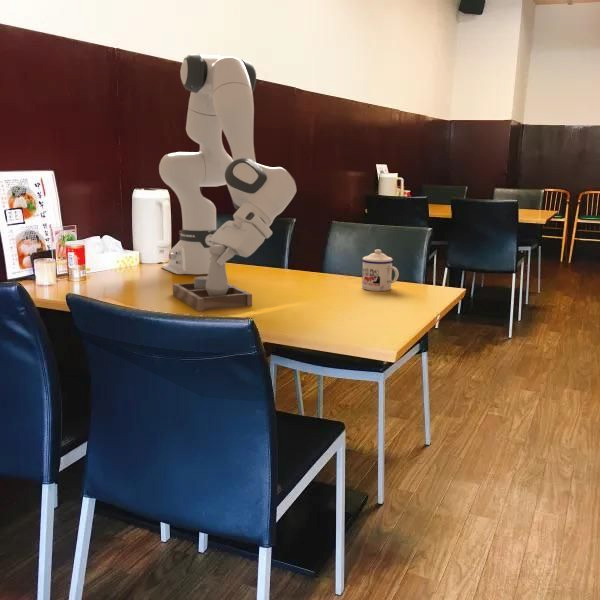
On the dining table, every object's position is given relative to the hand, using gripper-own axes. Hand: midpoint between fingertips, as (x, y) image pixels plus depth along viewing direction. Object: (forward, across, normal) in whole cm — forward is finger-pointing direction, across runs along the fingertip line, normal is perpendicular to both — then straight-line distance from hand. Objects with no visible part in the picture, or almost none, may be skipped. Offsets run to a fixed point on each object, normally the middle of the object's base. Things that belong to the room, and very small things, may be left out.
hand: (214, 262), depth 156 cm
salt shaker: (+6, 0, +6) cm, 9 cm away
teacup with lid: (-29, -2, +46) cm, 54 cm away
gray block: (+7, -9, +8) cm, 14 cm away
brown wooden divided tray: (+8, -5, +9) cm, 13 cm away
